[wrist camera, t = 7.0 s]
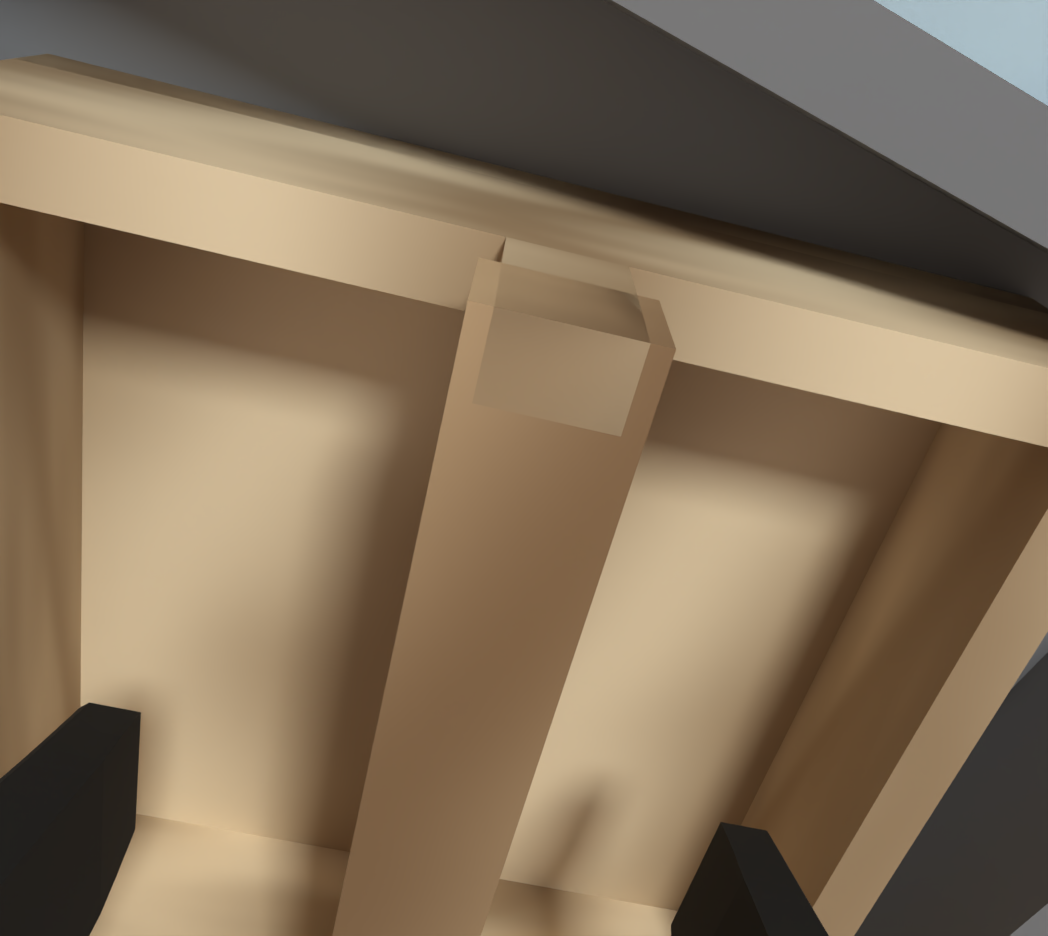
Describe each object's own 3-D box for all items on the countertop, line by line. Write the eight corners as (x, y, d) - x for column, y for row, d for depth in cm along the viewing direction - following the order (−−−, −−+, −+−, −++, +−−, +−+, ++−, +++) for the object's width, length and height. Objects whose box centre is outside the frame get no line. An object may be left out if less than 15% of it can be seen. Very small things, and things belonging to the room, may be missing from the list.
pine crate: (1031, 297, 12) (1355, 509, 7) (716, 910, 18) (778, 1254, 13) (48, 52, 11) (-351, 108, 6) (55, 790, 17) (-145, 1118, 12)
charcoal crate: (1365, 347, 13) (1660, 478, 10) (665, 1050, 22) (687, 1255, 18) (-13, -471, 10) (-344, -739, 6) (-207, 765, 18) (-390, 953, 15)
